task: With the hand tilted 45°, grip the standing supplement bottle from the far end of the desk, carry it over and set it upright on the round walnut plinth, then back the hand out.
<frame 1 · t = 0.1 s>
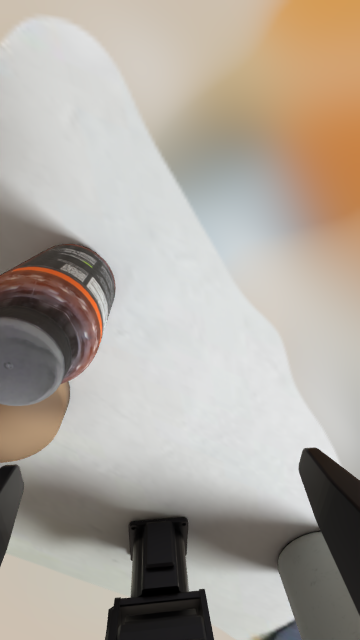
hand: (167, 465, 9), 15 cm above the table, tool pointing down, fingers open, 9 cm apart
supplement bottle: (76, 283, 22), on the table
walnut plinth: (1, 388, 24), on the table
water bottle: (312, 551, 38), on the table
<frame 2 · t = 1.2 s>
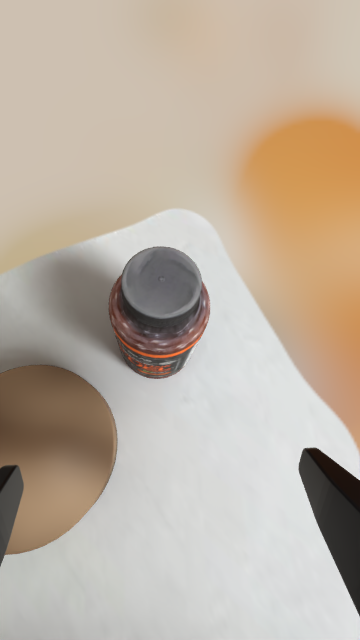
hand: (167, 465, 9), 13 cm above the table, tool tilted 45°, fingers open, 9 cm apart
supplement bottle: (157, 345, 25), on the table
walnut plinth: (39, 447, 21), on the table
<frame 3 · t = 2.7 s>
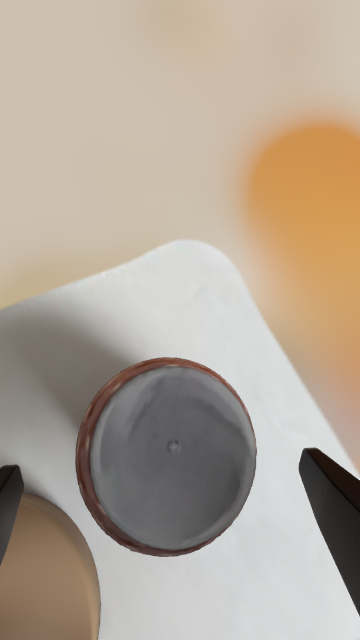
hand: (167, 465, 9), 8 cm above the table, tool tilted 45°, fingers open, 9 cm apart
supplement bottle: (160, 442, 17), on the table
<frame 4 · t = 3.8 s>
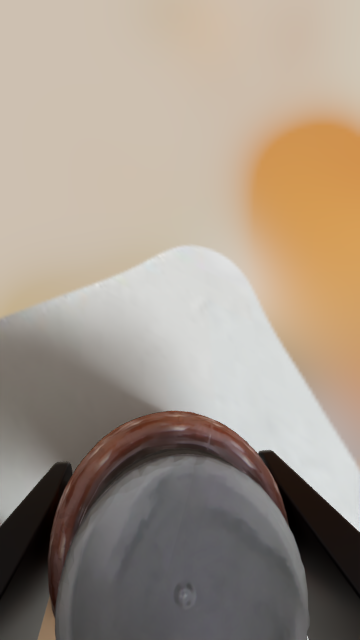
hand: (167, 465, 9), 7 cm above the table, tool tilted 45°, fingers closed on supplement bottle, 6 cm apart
supplement bottle: (161, 483, 15), on the table, touching gripper
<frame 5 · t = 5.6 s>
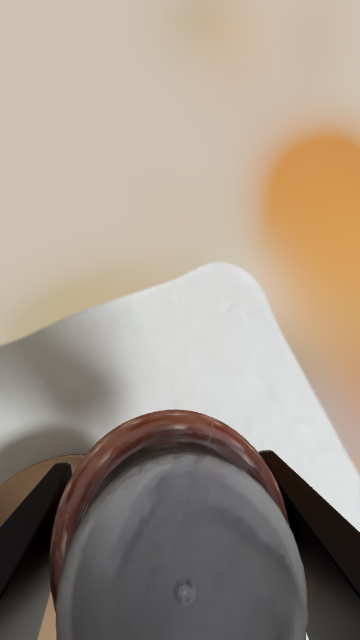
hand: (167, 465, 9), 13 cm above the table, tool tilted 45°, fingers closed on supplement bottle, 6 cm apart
supplement bottle: (163, 482, 15), point 6 cm above the table, touching gripper
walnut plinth: (67, 547, 19), on the table
when the fingers open (10 cm above the table, at t = 7.2 s): supplement bottle drops 1 cm, resting on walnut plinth.
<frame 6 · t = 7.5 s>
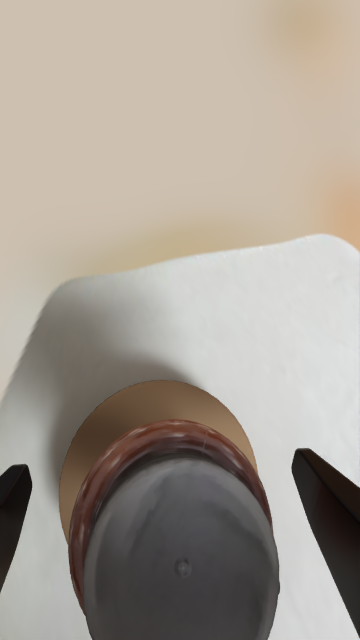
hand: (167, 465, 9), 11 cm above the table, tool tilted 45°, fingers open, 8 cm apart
supplement bottle: (162, 482, 16), point 2 cm above the table, touching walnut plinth
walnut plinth: (160, 474, 19), on the table
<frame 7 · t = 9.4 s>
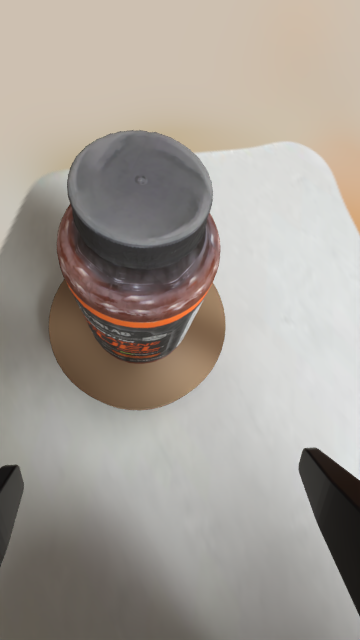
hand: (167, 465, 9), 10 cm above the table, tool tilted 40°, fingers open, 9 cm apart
supplement bottle: (141, 320, 19), point 2 cm above the table, touching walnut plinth
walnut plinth: (140, 329, 21), on the table
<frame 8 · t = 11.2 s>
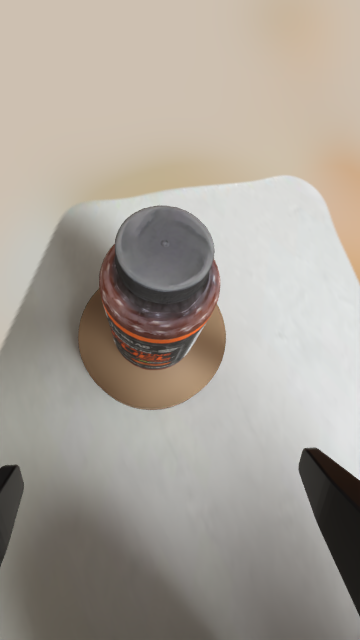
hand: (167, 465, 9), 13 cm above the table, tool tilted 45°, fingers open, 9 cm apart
supplement bottle: (154, 334, 22), point 2 cm above the table, touching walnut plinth
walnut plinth: (153, 340, 24), on the table
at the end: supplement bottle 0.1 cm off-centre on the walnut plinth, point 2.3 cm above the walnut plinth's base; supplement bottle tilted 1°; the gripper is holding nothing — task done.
